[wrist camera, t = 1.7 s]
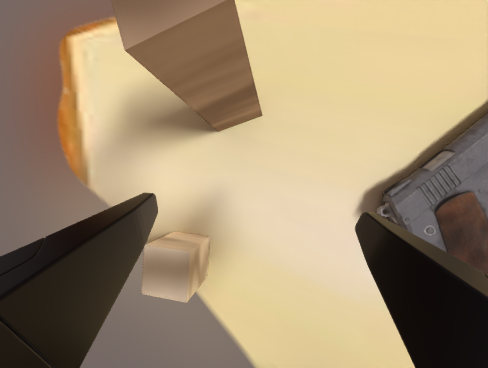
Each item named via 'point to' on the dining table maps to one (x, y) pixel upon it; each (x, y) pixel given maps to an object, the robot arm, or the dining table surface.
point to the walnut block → (193, 54)
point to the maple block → (175, 265)
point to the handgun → (448, 198)
